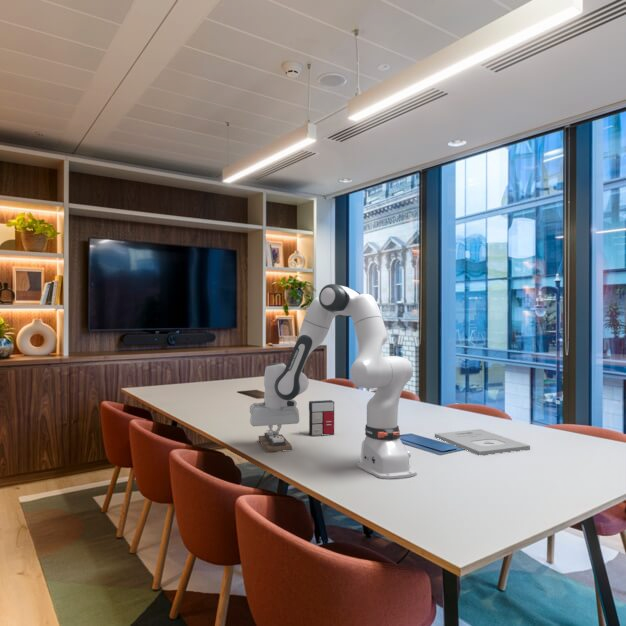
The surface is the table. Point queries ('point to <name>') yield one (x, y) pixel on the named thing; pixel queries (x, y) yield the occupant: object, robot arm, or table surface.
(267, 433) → the key two
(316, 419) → the calculator
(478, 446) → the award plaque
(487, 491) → the table surface
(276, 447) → the key panel
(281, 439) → the key three
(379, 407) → the robot arm
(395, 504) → the table surface
